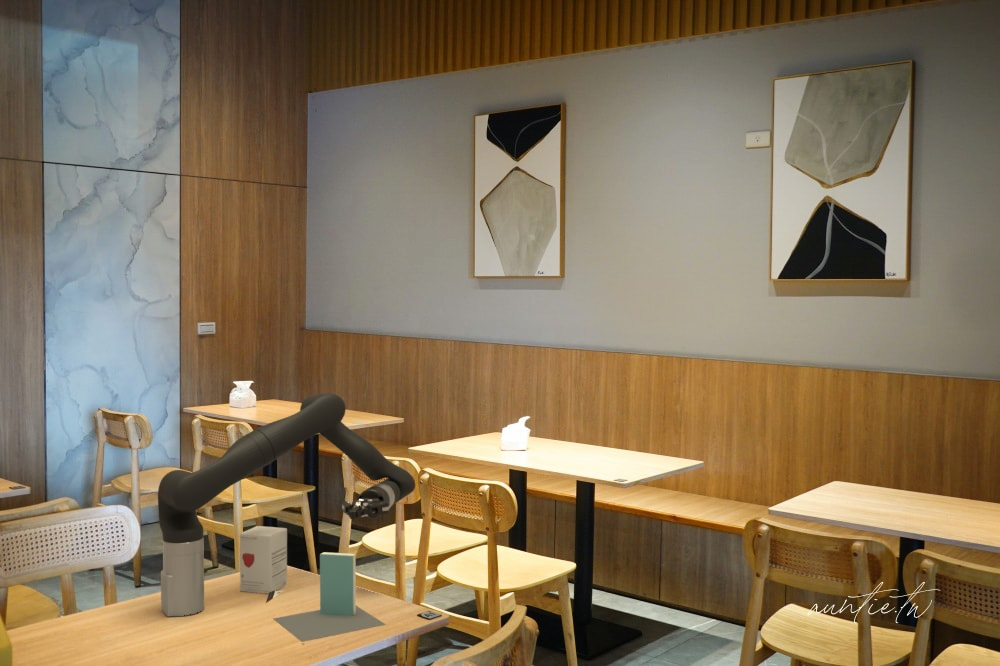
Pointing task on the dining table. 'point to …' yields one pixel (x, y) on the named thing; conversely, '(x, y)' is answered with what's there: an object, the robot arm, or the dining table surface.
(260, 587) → the supplement box
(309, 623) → the mat
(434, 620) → the dining table surface
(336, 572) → the tile
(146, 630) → the dining table surface
